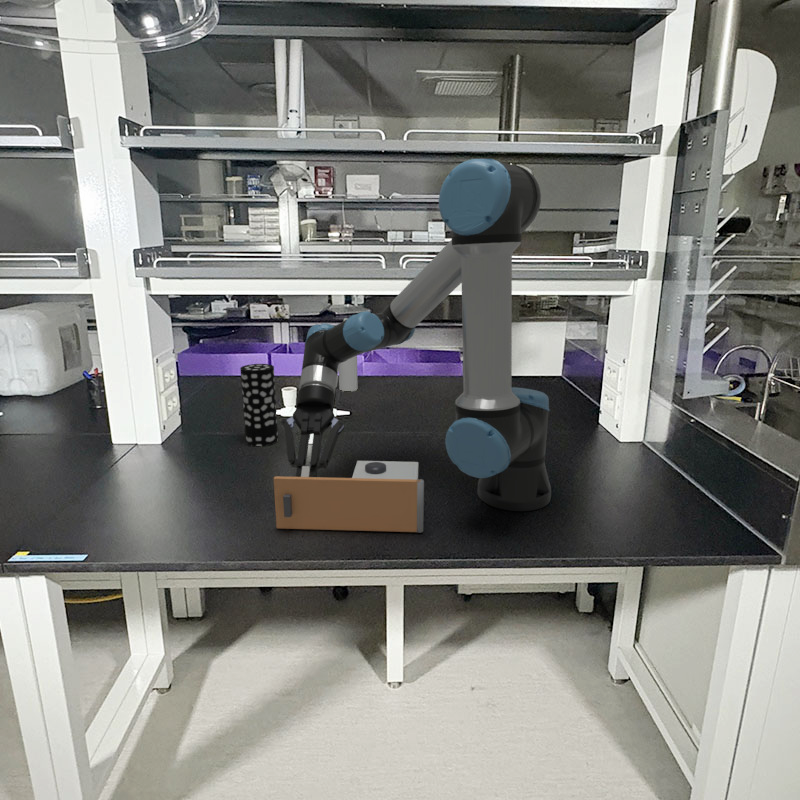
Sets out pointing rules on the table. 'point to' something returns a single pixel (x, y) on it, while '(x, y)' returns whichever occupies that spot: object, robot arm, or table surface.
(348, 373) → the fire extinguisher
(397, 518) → the side door
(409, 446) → the table surface
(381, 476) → the cabinet housing
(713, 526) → the table surface
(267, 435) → the spotted tube
